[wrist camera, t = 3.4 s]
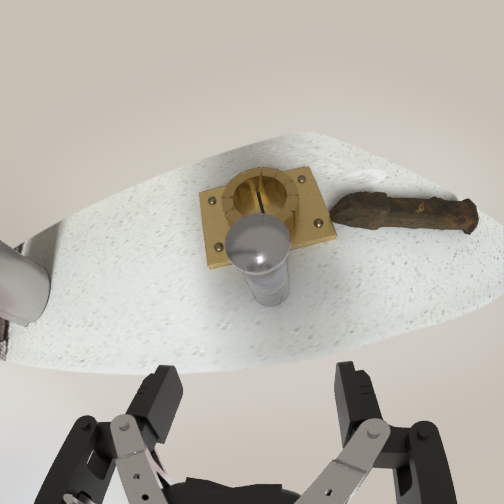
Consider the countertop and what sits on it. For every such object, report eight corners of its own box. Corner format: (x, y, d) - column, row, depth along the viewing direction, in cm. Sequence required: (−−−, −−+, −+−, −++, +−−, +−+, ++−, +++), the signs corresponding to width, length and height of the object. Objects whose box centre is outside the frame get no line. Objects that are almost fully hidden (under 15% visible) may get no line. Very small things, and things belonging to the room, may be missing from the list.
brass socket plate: (210, 269, 30) (199, 254, 26) (201, 197, 34) (192, 178, 31) (335, 238, 29) (340, 220, 26) (308, 171, 34) (309, 150, 30)
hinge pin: (274, 319, 27) (262, 285, 17) (240, 293, 28) (211, 248, 19) (301, 284, 28) (303, 233, 18) (267, 261, 29) (252, 203, 20)
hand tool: (461, 211, 28) (475, 191, 24) (468, 238, 27) (485, 219, 22) (328, 202, 32) (331, 177, 28) (329, 231, 30) (333, 207, 26)
